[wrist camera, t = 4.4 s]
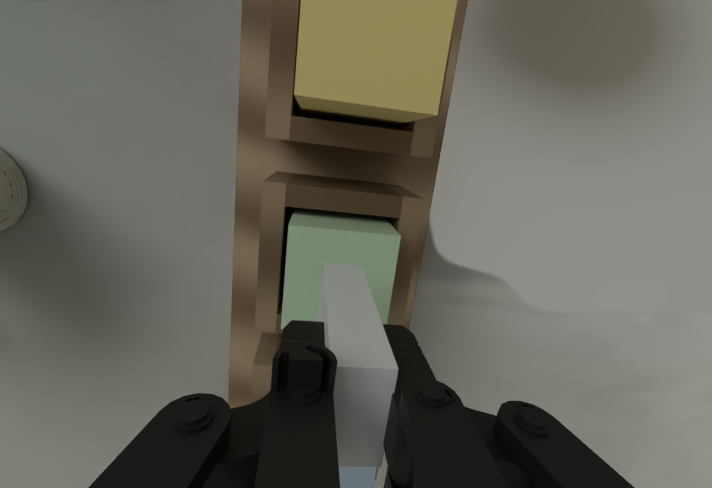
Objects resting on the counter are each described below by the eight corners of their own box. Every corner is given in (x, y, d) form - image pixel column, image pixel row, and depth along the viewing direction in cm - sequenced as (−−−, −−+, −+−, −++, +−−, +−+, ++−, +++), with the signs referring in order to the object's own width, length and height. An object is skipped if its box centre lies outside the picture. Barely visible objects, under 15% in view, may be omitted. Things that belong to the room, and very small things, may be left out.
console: (247, -50, 20) (212, -145, 13) (464, -8, 22) (529, -74, 15) (229, 419, 28) (202, 505, 22) (388, 423, 30) (408, 503, 23)
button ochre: (311, 3, 17) (306, -85, 11) (410, 21, 18) (465, -52, 11) (302, 112, 19) (293, 94, 12) (395, 124, 19) (437, 115, 13)
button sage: (297, 200, 22) (288, 225, 15) (376, 208, 23) (401, 235, 16) (291, 275, 23) (280, 329, 17) (366, 281, 24) (385, 335, 17)
